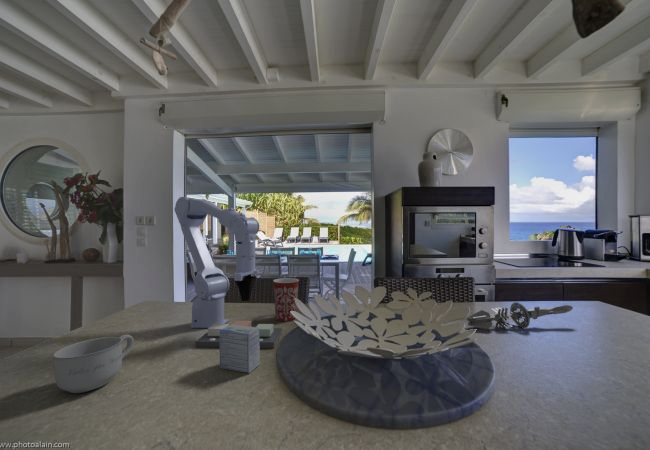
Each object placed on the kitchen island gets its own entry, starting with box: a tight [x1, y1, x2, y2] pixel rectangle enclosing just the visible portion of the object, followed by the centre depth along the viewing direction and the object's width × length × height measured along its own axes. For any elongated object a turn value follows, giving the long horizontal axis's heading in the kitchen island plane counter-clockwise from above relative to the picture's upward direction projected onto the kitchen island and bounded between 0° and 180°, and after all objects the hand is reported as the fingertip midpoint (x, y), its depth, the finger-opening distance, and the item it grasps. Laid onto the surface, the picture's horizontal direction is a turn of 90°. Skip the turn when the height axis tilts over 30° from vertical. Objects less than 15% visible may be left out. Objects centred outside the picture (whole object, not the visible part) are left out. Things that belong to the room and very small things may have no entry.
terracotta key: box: [231, 320, 252, 327], centre depth 81 cm, size 4×4×2 cm
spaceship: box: [466, 301, 574, 330], centre depth 91 cm, size 8×35×8 cm
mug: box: [272, 277, 300, 322], centre depth 103 cm, size 13×9×14 cm
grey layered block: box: [219, 324, 261, 374], centre depth 65 cm, size 8×4×9 cm, turn 71°
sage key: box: [255, 323, 275, 337], centre depth 81 cm, size 4×4×2 cm
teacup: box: [52, 334, 135, 394], centre depth 59 cm, size 14×11×8 cm
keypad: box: [194, 327, 283, 349], centre depth 81 cm, size 21×11×2 cm, turn 88°
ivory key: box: [207, 323, 230, 336], centre depth 81 cm, size 4×4×2 cm
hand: (245, 300), depth 88 cm, fingers closed
